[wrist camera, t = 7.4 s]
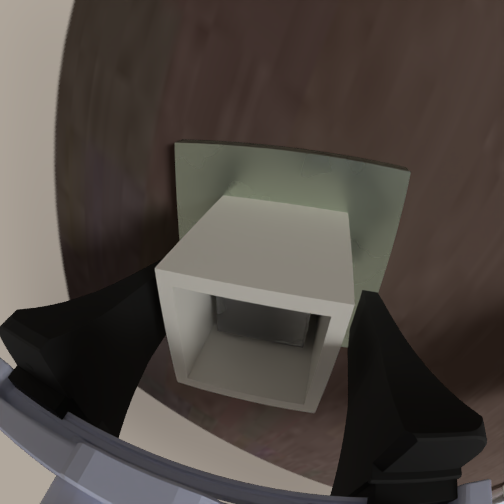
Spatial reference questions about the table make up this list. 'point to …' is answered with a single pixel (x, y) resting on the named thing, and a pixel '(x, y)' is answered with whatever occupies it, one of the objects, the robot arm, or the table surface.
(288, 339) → the duct stub
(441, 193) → the table surface
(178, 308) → the sleeve
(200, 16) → the table surface
